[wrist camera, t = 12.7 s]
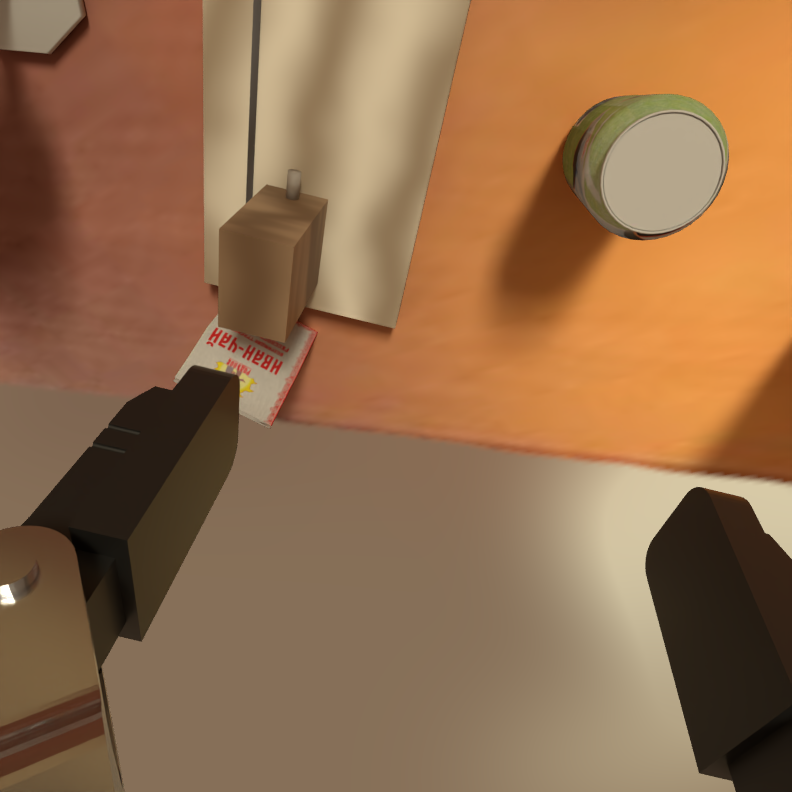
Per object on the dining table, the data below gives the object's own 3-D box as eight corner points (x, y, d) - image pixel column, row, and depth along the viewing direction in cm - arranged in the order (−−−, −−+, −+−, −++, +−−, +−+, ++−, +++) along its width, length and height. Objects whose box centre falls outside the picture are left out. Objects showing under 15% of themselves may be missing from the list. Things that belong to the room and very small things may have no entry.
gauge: (331, 173, 35) (296, 217, 29) (317, 284, 40) (285, 342, 33) (268, 158, 35) (219, 198, 29) (261, 270, 40) (218, 326, 33)
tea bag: (299, 365, 46) (260, 445, 38) (222, 324, 45) (165, 399, 37) (317, 332, 44) (280, 409, 36) (238, 288, 43) (181, 359, 35)
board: (472, -6, 31) (471, -5, 29) (398, 315, 43) (394, 329, 41) (217, -70, 30) (201, -73, 29) (215, 271, 42) (203, 283, 41)
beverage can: (572, 213, 37) (603, 296, 27) (544, 94, 33) (567, 141, 23) (677, 177, 35) (751, 254, 25) (659, 46, 31) (738, 76, 21)
